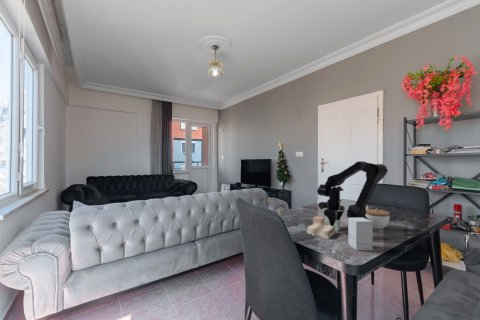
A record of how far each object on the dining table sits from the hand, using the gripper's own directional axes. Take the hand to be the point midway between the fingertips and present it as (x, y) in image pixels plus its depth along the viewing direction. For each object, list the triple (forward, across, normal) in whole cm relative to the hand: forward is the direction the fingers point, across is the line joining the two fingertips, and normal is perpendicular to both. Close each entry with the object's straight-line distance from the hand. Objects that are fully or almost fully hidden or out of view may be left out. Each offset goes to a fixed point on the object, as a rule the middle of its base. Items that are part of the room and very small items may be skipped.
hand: (334, 225), depth 125 cm
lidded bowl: (+2, -19, +18) cm, 26 cm away
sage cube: (+2, 0, 0) cm, 2 cm away
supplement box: (+2, +20, +17) cm, 26 cm away
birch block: (+2, +13, -3) cm, 14 cm away
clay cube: (+2, 0, -9) cm, 9 cm away
